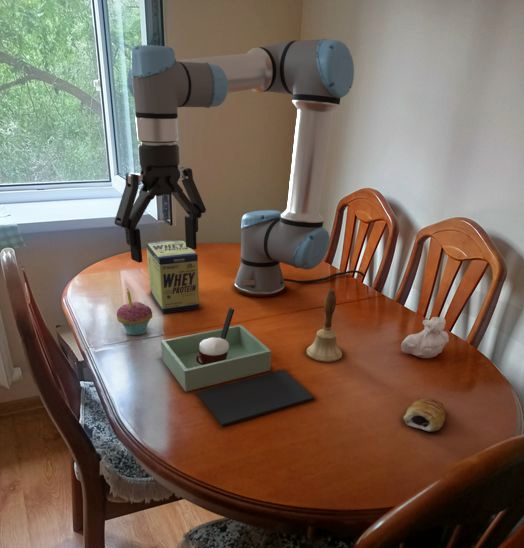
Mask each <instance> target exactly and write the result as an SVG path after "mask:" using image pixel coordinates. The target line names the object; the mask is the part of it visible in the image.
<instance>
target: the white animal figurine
mask: <svg viewBox="0 0 524 548" xmlns="http://www.w3.org/2000/svg"><path fill="white" fill-rule="evenodd" d="M446 323H447V321H446V318H444V317H441V318H440V317H439V316H432V317H431V318H430V319H428V318H427V319H426V318H425V319H423V320H422V325H423V326H424V329H423V330H421V331H419V332H418V333H411V334H409V335H408V336H406V337H405V338H404V339H403V340H402V341H401V345H400V347H401V351H402V353H404V354H406V355H407V354H409V355H413V356H415V357H418V358H421V359H432V358H435V357H437V356H438V355H439V354H441V353H443V349H444V348H445V346H446V345H447V344H448V343H449V342H450V340H449V338H450V336H449V333H448V332H447V331H445V330H444V329H445V327H446Z"/></svg>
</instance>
